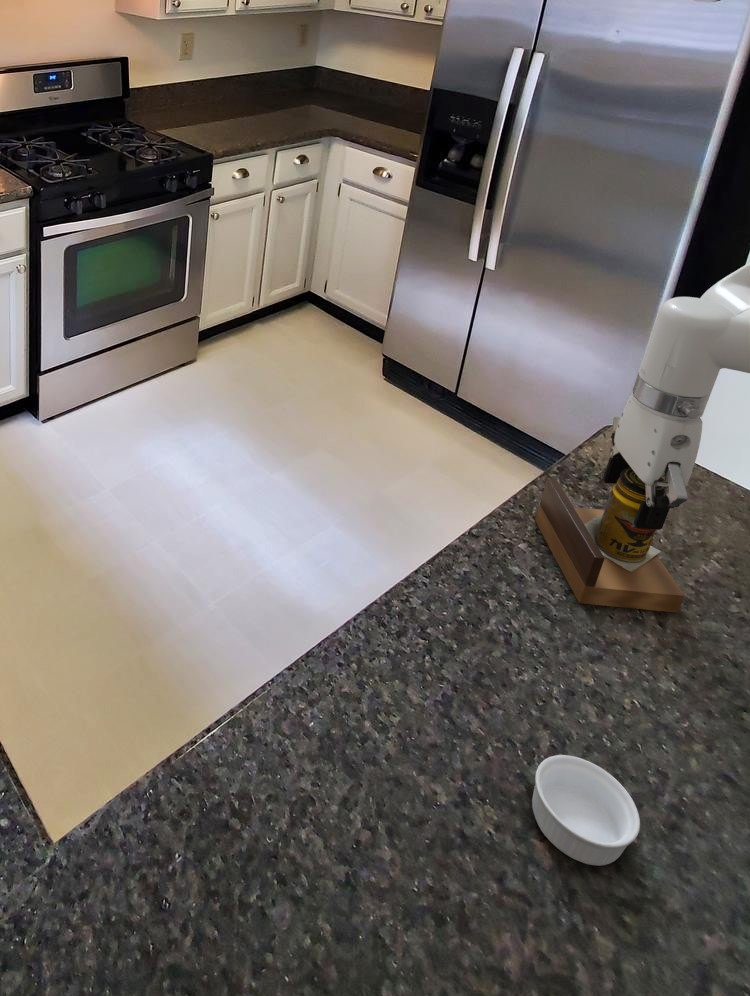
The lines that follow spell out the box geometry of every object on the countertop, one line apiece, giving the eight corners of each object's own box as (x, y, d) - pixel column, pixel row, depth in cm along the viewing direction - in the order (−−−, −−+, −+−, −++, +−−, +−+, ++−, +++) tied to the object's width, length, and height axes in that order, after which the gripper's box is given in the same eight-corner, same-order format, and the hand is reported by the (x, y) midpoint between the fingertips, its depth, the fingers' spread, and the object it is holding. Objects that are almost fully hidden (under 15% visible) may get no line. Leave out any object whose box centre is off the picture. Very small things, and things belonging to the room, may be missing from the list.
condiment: (631, 573, 105) (657, 501, 100) (568, 534, 112) (590, 465, 107) (660, 552, 109) (688, 482, 103) (598, 516, 115) (621, 448, 110)
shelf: (620, 527, 117) (636, 484, 114) (678, 612, 103) (697, 566, 100) (534, 520, 119) (547, 477, 115) (579, 603, 105) (595, 557, 101)
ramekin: (616, 797, 82) (628, 770, 80) (638, 888, 74) (651, 860, 72) (520, 769, 84) (530, 742, 83) (532, 853, 77) (542, 826, 75)
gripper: (744, 437, 91) (696, 553, 98) (666, 360, 106) (630, 466, 114) (673, 432, 92) (631, 548, 99) (606, 357, 107) (574, 461, 115)
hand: (630, 503), depth 106 cm, fingers open, 8 cm apart
